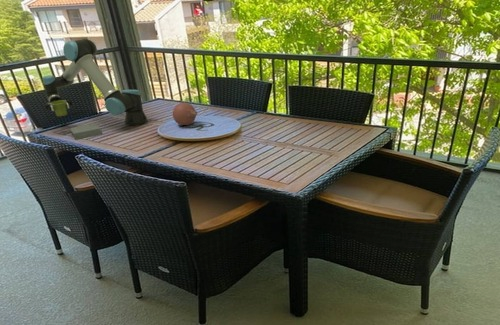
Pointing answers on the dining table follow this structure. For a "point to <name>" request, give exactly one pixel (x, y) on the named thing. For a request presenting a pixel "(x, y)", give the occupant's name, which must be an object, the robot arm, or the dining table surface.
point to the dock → (85, 131)
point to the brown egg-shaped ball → (184, 114)
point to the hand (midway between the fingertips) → (60, 107)
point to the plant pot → (59, 108)
